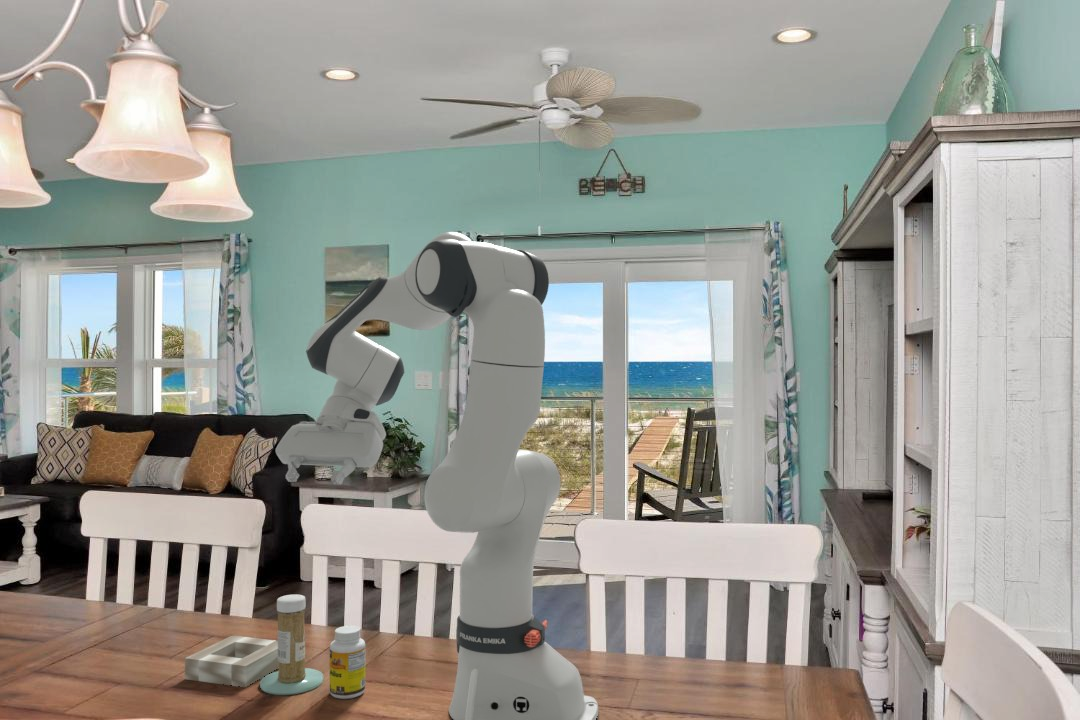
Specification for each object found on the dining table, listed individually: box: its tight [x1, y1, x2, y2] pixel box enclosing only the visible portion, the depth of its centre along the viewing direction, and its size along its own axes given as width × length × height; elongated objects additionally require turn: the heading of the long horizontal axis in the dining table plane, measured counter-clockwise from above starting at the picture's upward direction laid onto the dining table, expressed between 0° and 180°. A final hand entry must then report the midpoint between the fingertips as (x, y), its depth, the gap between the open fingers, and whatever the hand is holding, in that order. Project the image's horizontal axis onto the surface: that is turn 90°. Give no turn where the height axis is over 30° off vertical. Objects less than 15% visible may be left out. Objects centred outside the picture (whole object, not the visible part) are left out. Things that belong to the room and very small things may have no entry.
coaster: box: [259, 667, 324, 696], centre depth 137 cm, size 10×10×1 cm
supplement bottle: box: [329, 625, 366, 700], centre depth 132 cm, size 6×6×10 cm
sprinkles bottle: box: [276, 593, 307, 683], centre depth 137 cm, size 5×5×14 cm
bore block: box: [184, 635, 278, 688], centre depth 142 cm, size 12×12×4 cm
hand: (312, 481), depth 150 cm, fingers open, 8 cm apart
